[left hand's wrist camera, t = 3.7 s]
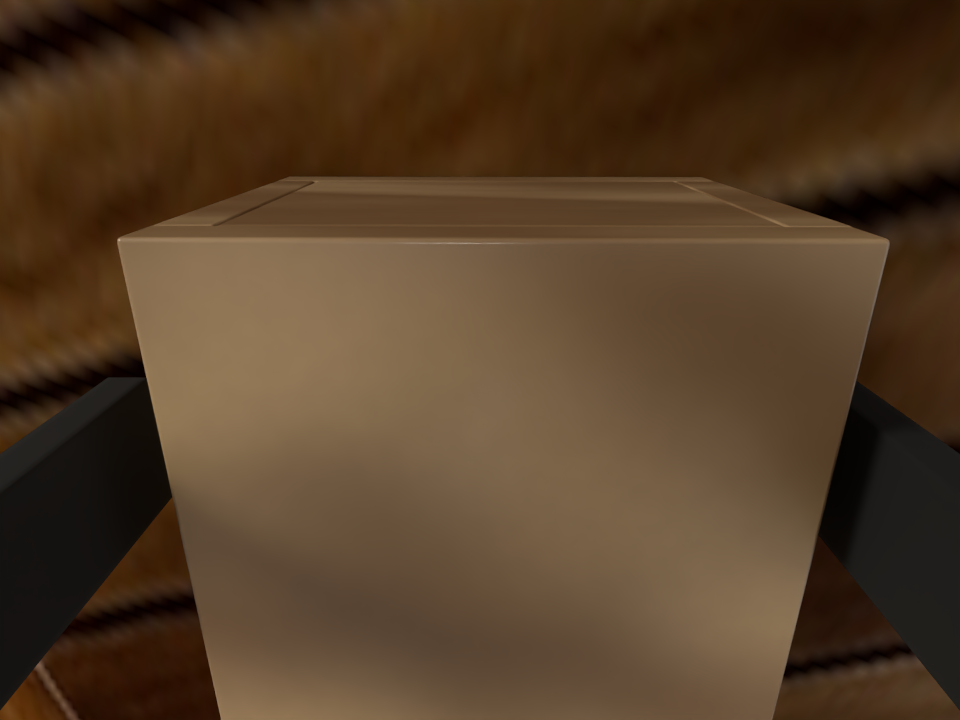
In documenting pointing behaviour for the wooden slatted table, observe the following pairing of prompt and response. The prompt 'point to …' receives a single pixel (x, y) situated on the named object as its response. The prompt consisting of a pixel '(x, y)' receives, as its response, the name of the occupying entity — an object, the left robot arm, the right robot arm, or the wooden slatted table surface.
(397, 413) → the cabinet
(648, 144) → the wooden slatted table surface
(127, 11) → the wooden slatted table surface
